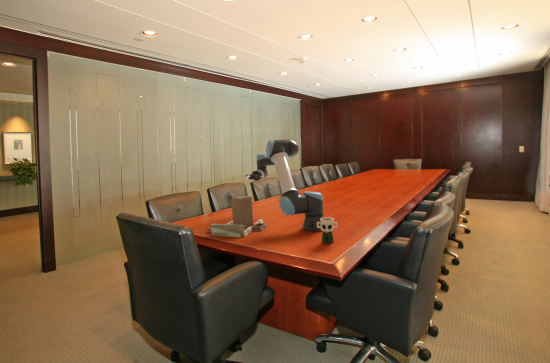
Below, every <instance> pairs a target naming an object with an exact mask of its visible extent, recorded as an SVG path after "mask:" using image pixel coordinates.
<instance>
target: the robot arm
mask: <svg viewBox="0 0 550 363" xmlns="http://www.w3.org/2000/svg"><path fill="white" fill-rule="evenodd" d="M265 146H266V148H265V153H258V154H256V170H253V171H252V172H251V174H246V175H244V182H248V181H250V180H253V181H260V180H262V179H263V180H264V179H265V178H267V177H268V176H269V171H268V170H267V168H268V167H269V166H274V168H275V171H276V175H277V177H278V178H277V179H278V182H279V185H280V189H281V195H280V198H279V207H280V210H281V212H282V213H283V214H284V215H285V216H295V215H302V214H304V217H303V222H302V225H301V226H302V227H301V228H302V230H303V231H306V232H322V231H321V228H317V222H320V219H321V218H324V217H325V216H324V196H323V193H321V192H318V191H306V190H305V191H304V192H303V193H302V194H301V193H300V191H299V189H297V188H296V185H295V183H294V179H293V175H292V173H291V169H290V165H289V163H288V162H289V161H288V159H290V158H294V157H295V156H297V155H298V154H299V151H300V147H299V146H300V145H299V144H298V142H296V141H295V140H294V139H273V140H272V139H270V140H268V141H267V143H266V145H265ZM319 226H320V224H319Z"/></svg>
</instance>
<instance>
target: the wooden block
mask: <svg viewBox="0 0 550 363" xmlns="http://www.w3.org/2000/svg"><path fill="white" fill-rule="evenodd" d="M231 210H232V211H231V212H232V214H231V215H232V220H233V224H234V225H244V229H247V228H248V227H250V226H253V227H254V217H253V213H254V212H253V199H252V196H249V195H238V196H232V197H231Z"/></svg>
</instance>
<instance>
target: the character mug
mask: <svg viewBox="0 0 550 363" xmlns="http://www.w3.org/2000/svg"><path fill="white" fill-rule="evenodd" d="M319 224H320V226H319ZM338 225H339V223H338V222H337V221H335V219H334V217H330V216H329V217H327V216H326V217H325V216H324V218H321V219H320V222H317V228H321V231H320V232H322V234H321V243H323V244H327V243H328V244H332V243H334V240H335V239H334V235H333V231H334V230H335V229H337V228H339V226H338Z"/></svg>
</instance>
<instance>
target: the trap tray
mask: <svg viewBox="0 0 550 363" xmlns="http://www.w3.org/2000/svg"><path fill="white" fill-rule="evenodd" d="M266 228H267V223H266V222H265V223H264V219H263V218H260V219H258V220H257V221H256V222H253V226H250V227H246V228H244V225H234V224H233V219H232V220H230V221H228V222H227V223H211V224H210V227H208V228H207V233H210V234H211V237H212V236H213V237H226V238H227V237H229V238H244V237H246V236H247V235H249V234H251V232H262V231H264V230H265V229H266Z"/></svg>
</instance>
